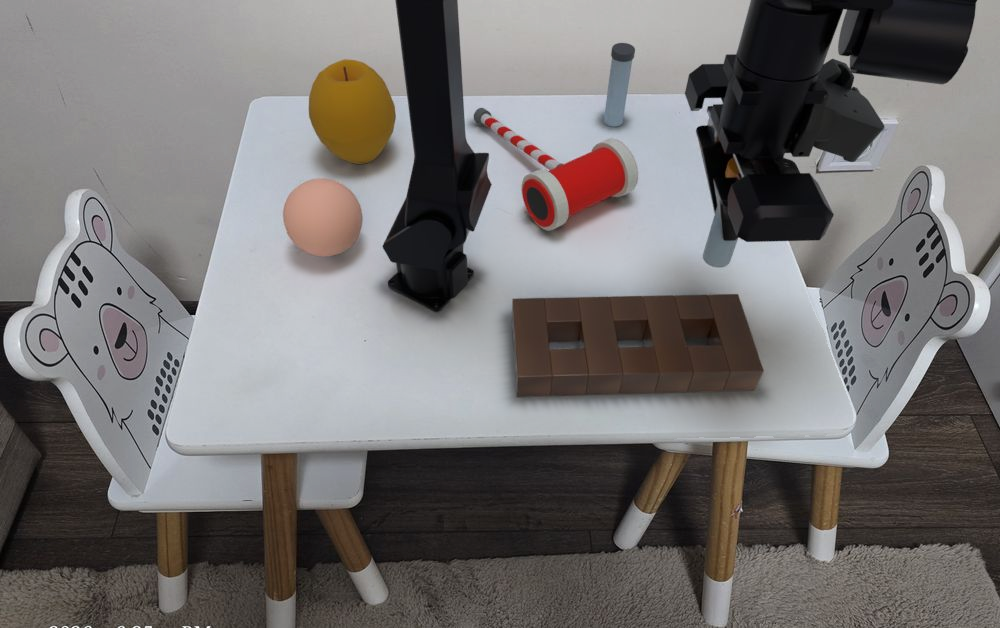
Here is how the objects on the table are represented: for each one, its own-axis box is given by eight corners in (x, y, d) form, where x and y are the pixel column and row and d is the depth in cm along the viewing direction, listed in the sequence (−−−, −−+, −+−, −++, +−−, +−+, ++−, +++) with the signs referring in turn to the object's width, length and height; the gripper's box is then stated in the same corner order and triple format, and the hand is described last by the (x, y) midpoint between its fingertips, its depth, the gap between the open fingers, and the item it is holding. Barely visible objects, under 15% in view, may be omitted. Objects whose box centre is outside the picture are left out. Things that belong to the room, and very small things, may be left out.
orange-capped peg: (710, 272, 65) (740, 180, 57) (695, 251, 67) (721, 159, 59) (738, 264, 66) (770, 172, 58) (721, 244, 67) (750, 152, 60)
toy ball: (341, 211, 84) (330, 153, 78) (381, 248, 80) (373, 190, 74) (278, 243, 80) (260, 185, 74) (316, 284, 76) (301, 226, 71)
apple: (321, 131, 94) (303, 43, 85) (400, 128, 94) (390, 40, 85) (315, 181, 87) (295, 91, 78) (399, 177, 88) (389, 88, 79)
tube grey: (598, 122, 95) (607, 49, 88) (608, 112, 97) (618, 40, 89) (617, 130, 94) (628, 56, 87) (627, 119, 96) (639, 46, 88)
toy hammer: (439, 137, 93) (436, 92, 88) (516, 106, 98) (517, 62, 93) (553, 242, 81) (557, 196, 76) (635, 202, 85) (644, 156, 81)
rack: (516, 396, 68) (517, 376, 65) (511, 319, 74) (512, 298, 71) (755, 390, 68) (764, 370, 66) (730, 314, 74) (738, 293, 72)
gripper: (954, 138, 46) (859, 309, 58) (847, -7, 58) (787, 158, 70) (772, 141, 45) (714, 313, 57) (704, -6, 58) (667, 160, 69)
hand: (725, 228), depth 63 cm, fingers closed on orange-capped peg, 2 cm apart
